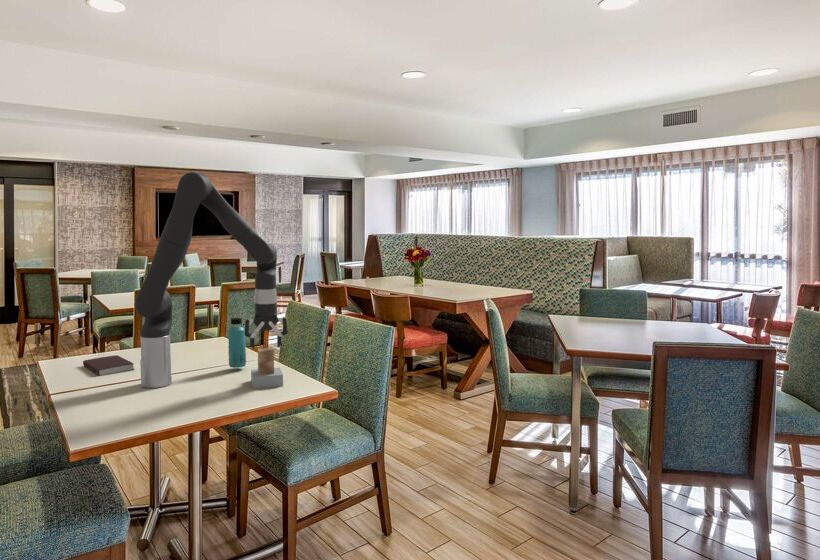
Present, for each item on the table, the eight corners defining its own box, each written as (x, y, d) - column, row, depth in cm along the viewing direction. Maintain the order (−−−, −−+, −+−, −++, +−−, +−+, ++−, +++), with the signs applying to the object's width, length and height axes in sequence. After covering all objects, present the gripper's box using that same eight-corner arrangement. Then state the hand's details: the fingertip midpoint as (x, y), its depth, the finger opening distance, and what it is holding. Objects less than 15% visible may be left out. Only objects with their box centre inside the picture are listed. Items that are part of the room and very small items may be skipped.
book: (98, 377, 196) (97, 368, 196) (82, 367, 210) (82, 359, 209) (134, 371, 205) (134, 363, 205) (118, 362, 218) (117, 354, 218)
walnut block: (259, 374, 186) (258, 351, 185) (258, 370, 191) (257, 348, 190) (274, 373, 188) (273, 350, 187) (272, 369, 193) (272, 347, 192)
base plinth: (253, 388, 183) (252, 377, 183) (251, 380, 193) (251, 369, 192) (283, 385, 187) (282, 374, 186) (279, 378, 196) (279, 367, 196)
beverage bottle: (241, 372, 204) (240, 319, 202) (225, 371, 205) (223, 318, 203) (249, 367, 210) (248, 316, 208) (234, 366, 211) (232, 316, 209)
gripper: (244, 303, 181) (245, 351, 183) (288, 302, 186) (288, 348, 187) (243, 300, 188) (244, 346, 190) (285, 299, 193) (285, 344, 194)
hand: (266, 347), depth 189 cm, fingers open, 8 cm apart
